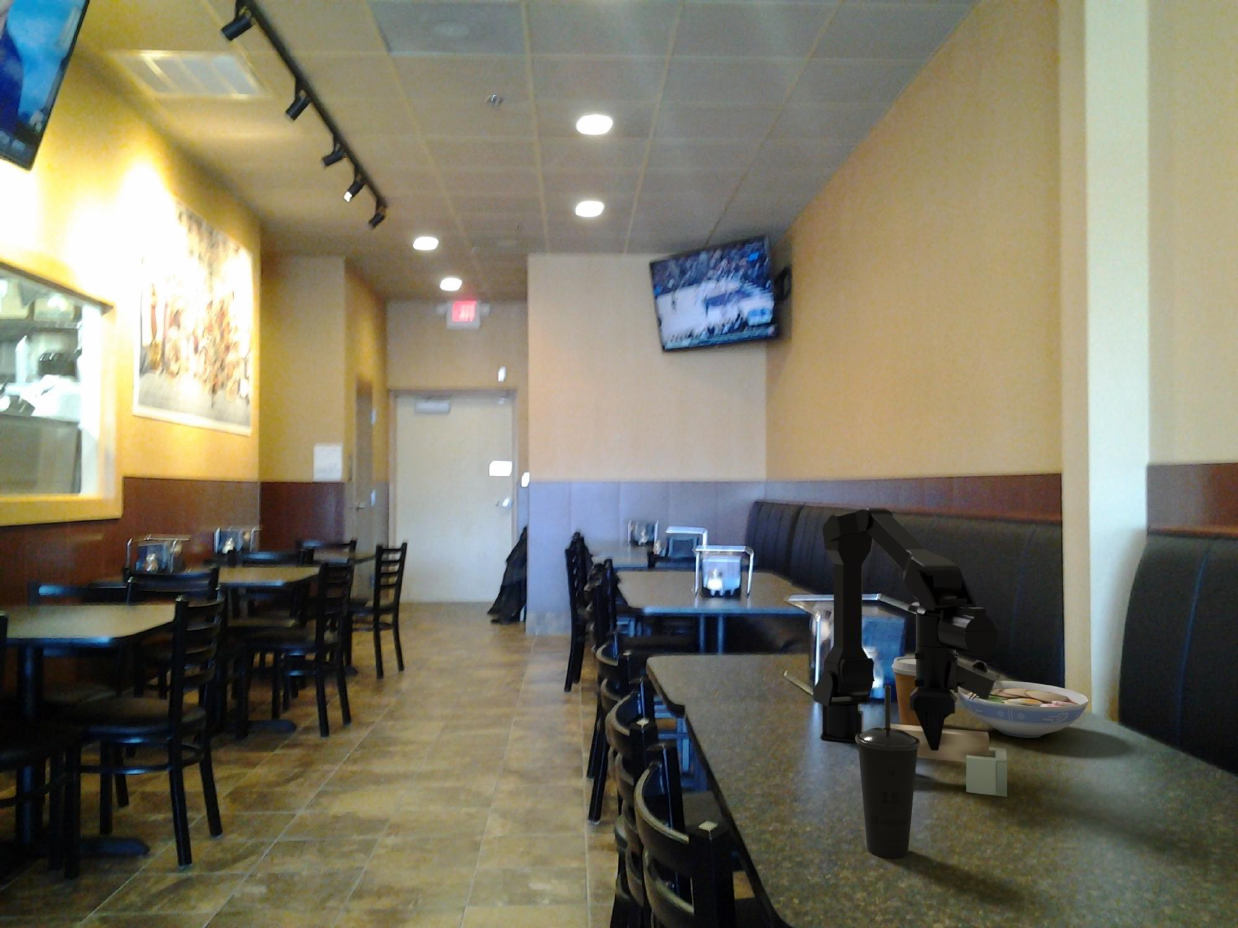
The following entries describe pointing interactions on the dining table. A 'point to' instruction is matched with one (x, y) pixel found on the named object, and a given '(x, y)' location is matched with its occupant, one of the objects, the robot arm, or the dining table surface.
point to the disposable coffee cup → (905, 688)
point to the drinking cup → (887, 785)
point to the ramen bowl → (1025, 707)
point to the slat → (950, 743)
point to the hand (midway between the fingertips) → (935, 747)
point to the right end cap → (987, 773)
